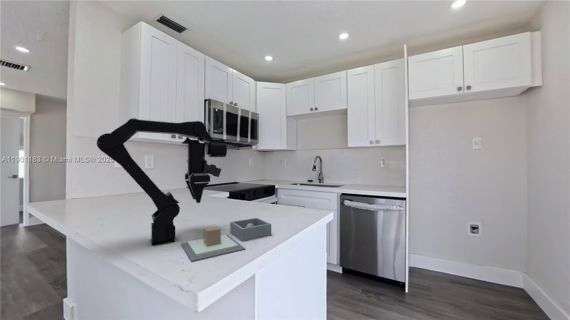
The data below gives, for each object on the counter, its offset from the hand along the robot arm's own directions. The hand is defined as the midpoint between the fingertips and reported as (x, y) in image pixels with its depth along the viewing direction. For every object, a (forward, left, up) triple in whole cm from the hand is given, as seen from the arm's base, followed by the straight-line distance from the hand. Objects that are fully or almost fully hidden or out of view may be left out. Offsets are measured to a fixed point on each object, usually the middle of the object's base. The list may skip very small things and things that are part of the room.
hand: (196, 200), depth 81 cm
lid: (+1, -15, -12) cm, 19 cm away
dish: (+16, -10, -12) cm, 23 cm away
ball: (+16, -10, -10) cm, 21 cm away
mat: (+1, -15, -12) cm, 19 cm away
